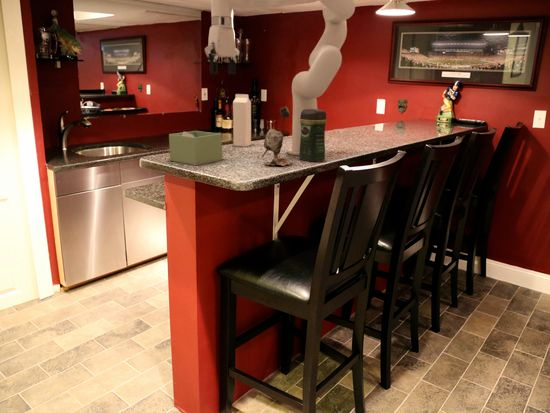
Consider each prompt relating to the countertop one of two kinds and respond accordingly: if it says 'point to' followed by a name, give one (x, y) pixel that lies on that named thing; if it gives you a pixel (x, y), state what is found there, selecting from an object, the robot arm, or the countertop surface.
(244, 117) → the milk
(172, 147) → the bin
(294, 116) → the robot arm
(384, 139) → the countertop surface
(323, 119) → the coffee jar
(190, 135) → the beige grey block
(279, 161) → the plant with pod
